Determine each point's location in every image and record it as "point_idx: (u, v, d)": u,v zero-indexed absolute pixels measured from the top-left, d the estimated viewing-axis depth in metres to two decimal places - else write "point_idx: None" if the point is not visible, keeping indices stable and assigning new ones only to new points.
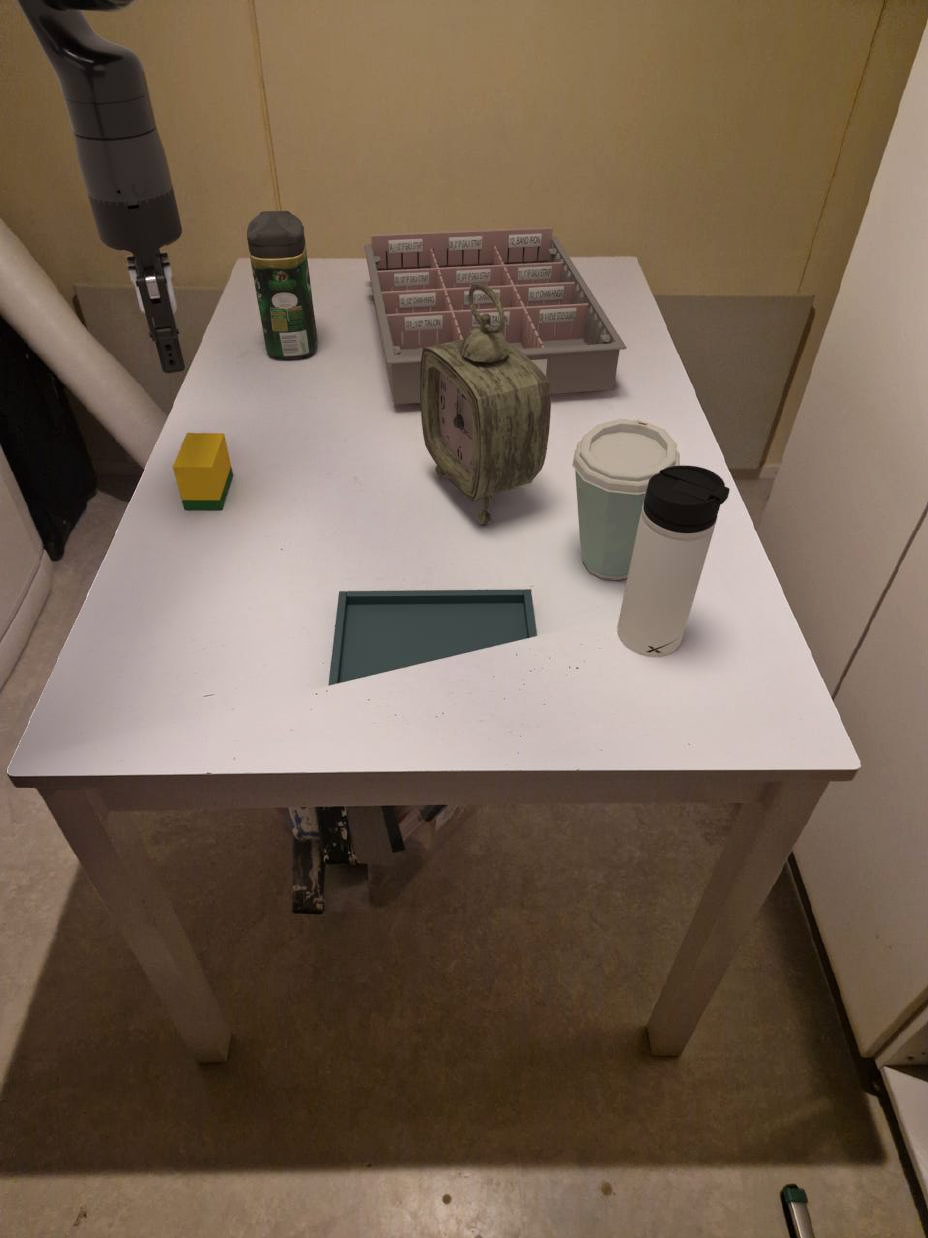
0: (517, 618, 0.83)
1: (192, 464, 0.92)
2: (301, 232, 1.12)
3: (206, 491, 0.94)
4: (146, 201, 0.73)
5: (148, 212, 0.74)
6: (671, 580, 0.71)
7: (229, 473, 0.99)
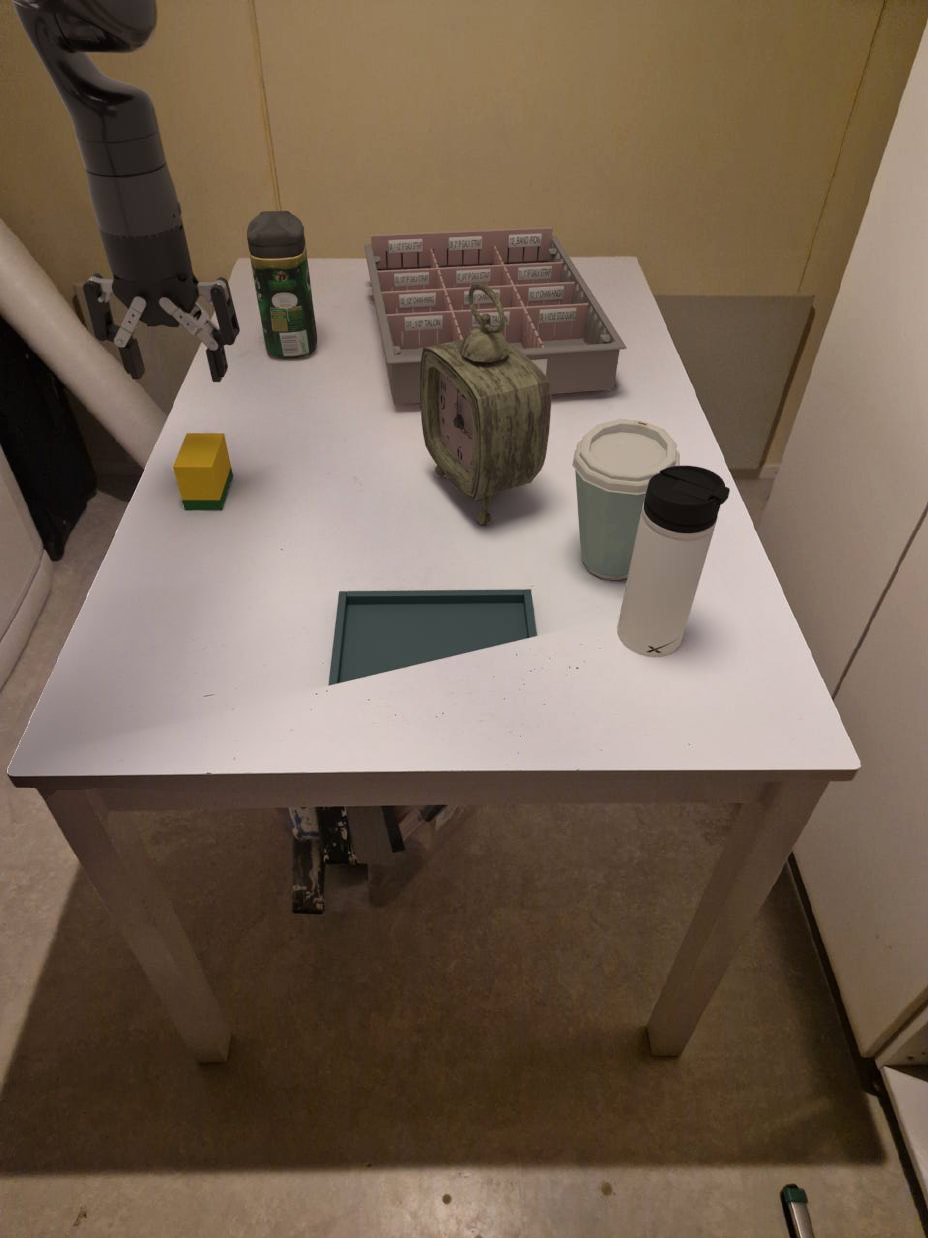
0: (517, 618, 0.83)
1: (192, 464, 0.92)
2: (301, 232, 1.12)
3: (206, 491, 0.94)
4: (181, 219, 0.78)
5: (183, 229, 0.78)
6: (671, 580, 0.71)
7: (229, 473, 0.99)
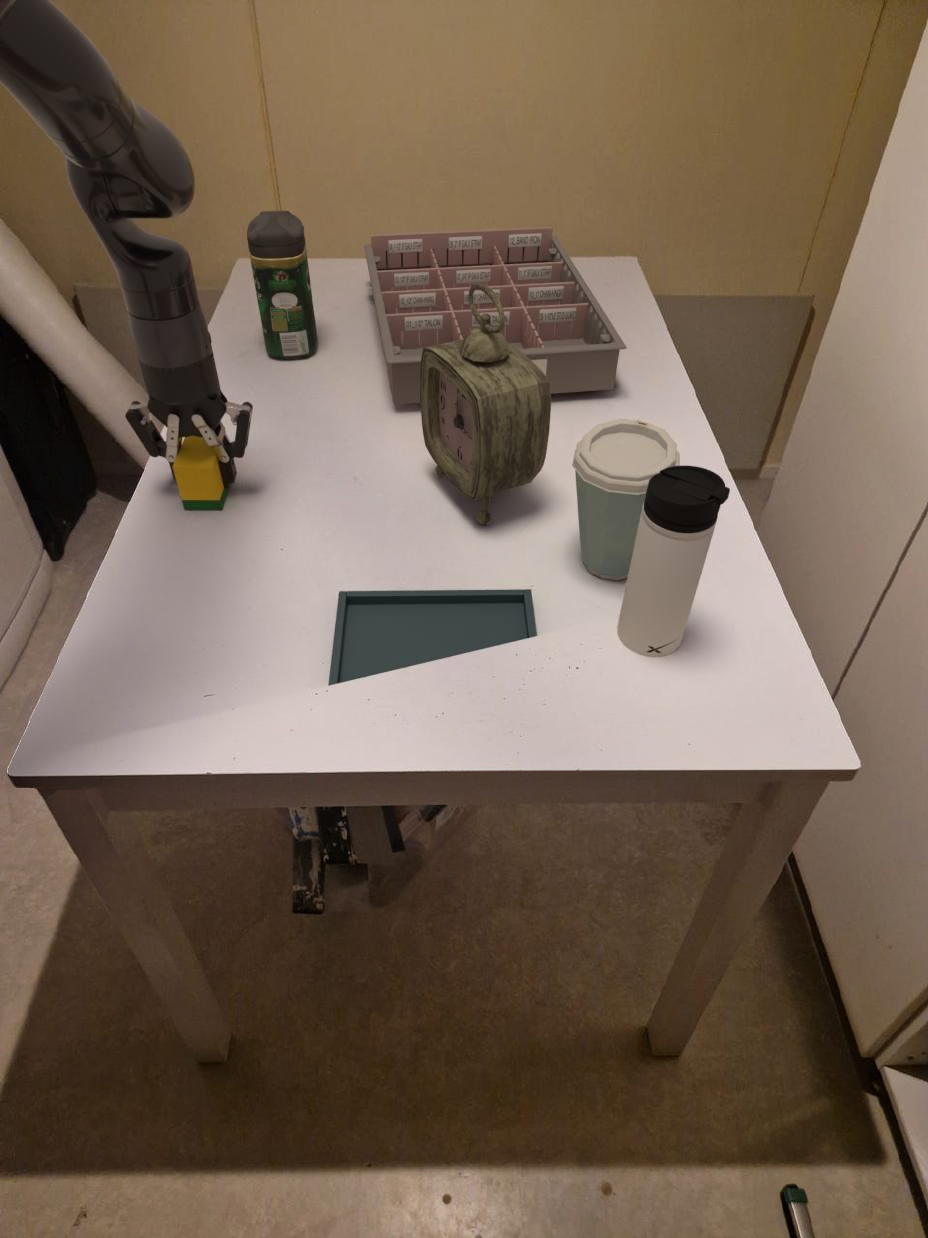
0: (517, 618, 0.83)
1: (192, 464, 0.92)
2: (301, 232, 1.12)
3: (206, 491, 0.94)
4: (211, 346, 0.87)
5: (212, 355, 0.87)
6: (671, 580, 0.71)
7: None
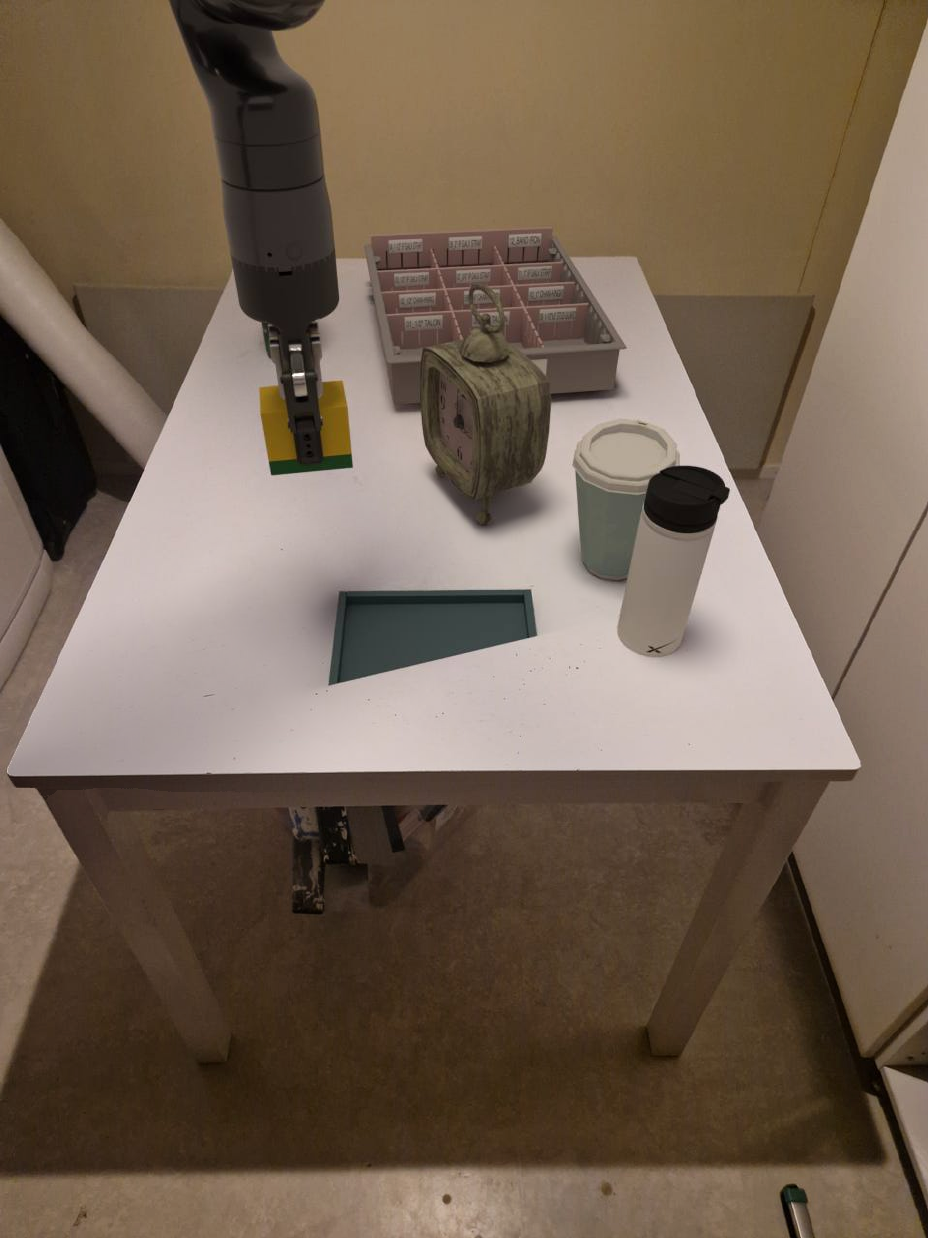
0: (517, 618, 0.83)
1: (265, 398, 0.68)
2: None
3: None
4: (302, 267, 0.58)
5: (302, 280, 0.58)
6: (671, 580, 0.71)
7: (335, 457, 0.70)
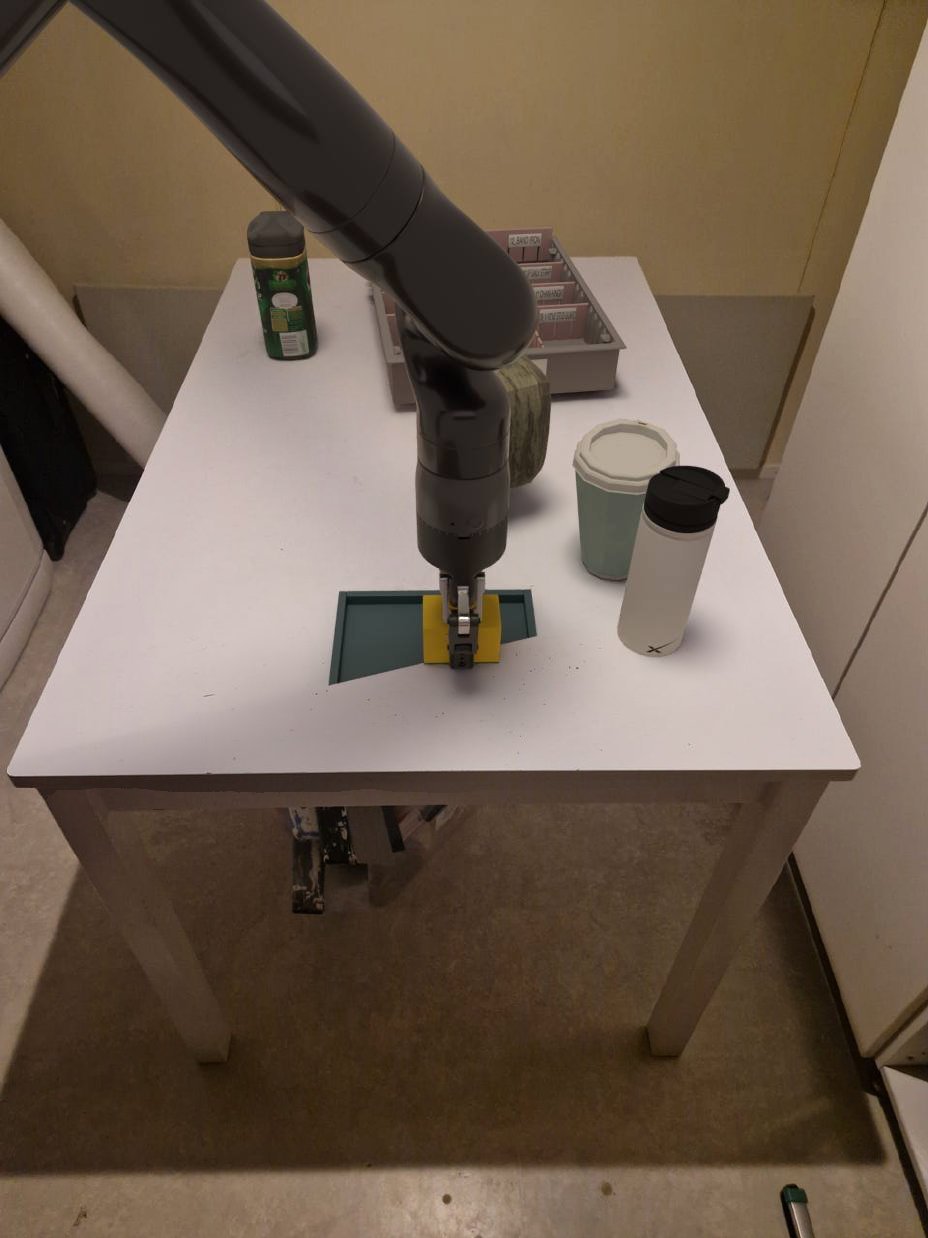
0: (517, 618, 0.83)
1: (427, 610, 0.75)
2: (301, 232, 1.12)
3: None
4: (478, 533, 0.64)
5: (477, 542, 0.65)
6: (671, 580, 0.71)
7: (484, 663, 0.77)
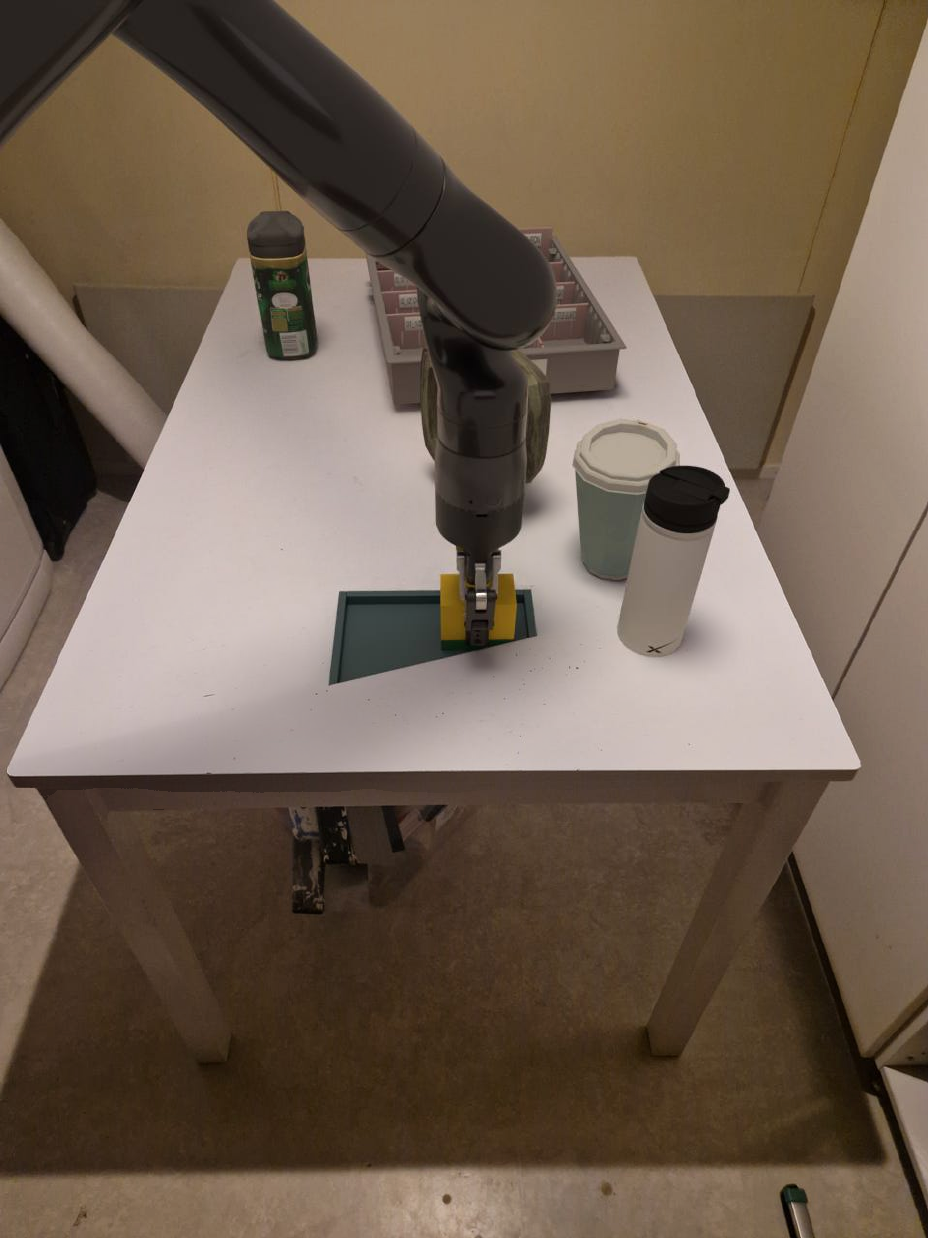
0: (517, 618, 0.83)
1: (445, 588, 0.77)
2: (301, 232, 1.12)
3: None
4: (496, 511, 0.66)
5: (495, 520, 0.67)
6: (671, 580, 0.71)
7: (499, 640, 0.79)
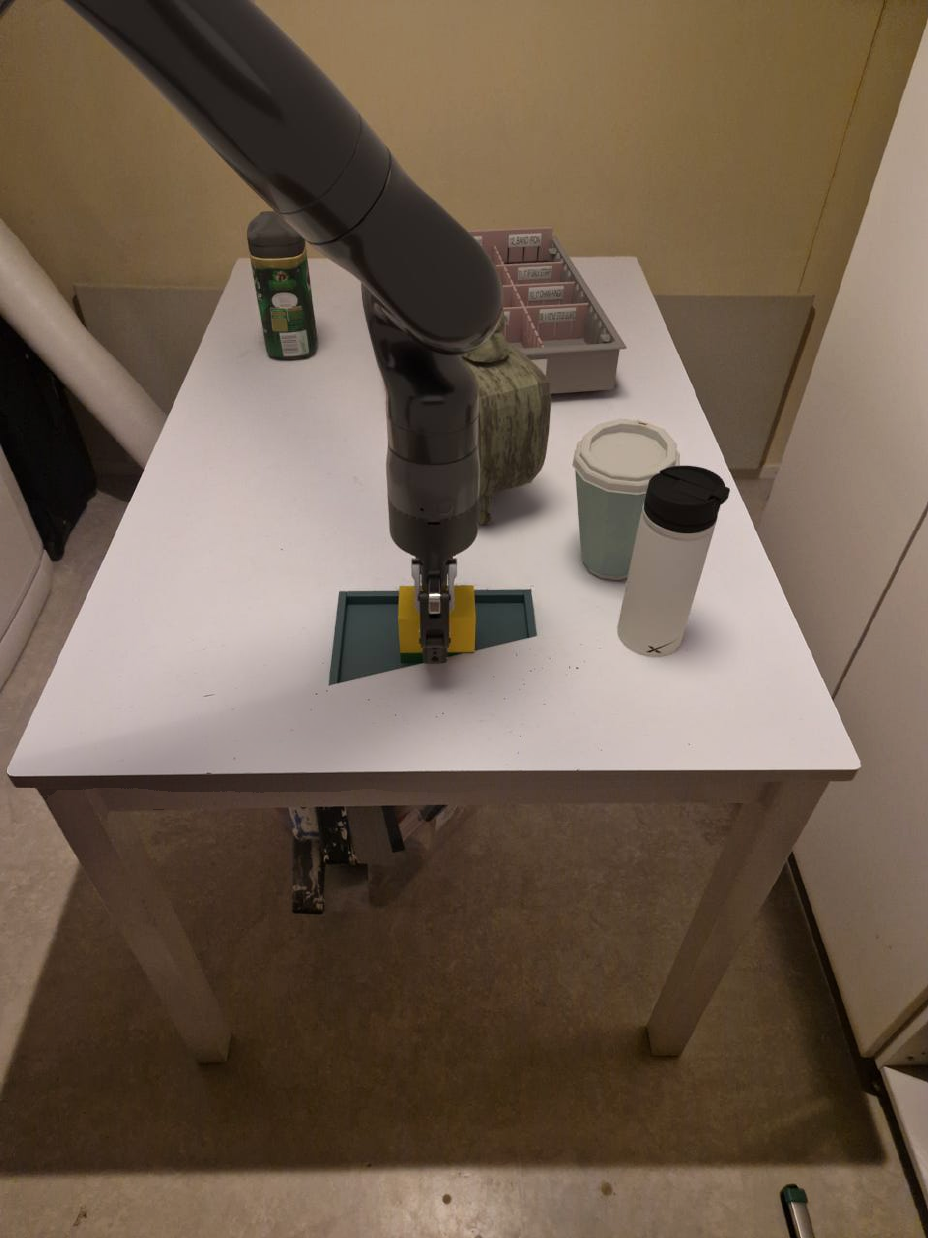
0: (517, 618, 0.83)
1: (403, 601, 0.76)
2: None
3: None
4: (448, 519, 0.65)
5: (447, 528, 0.66)
6: (671, 580, 0.71)
7: (459, 653, 0.78)
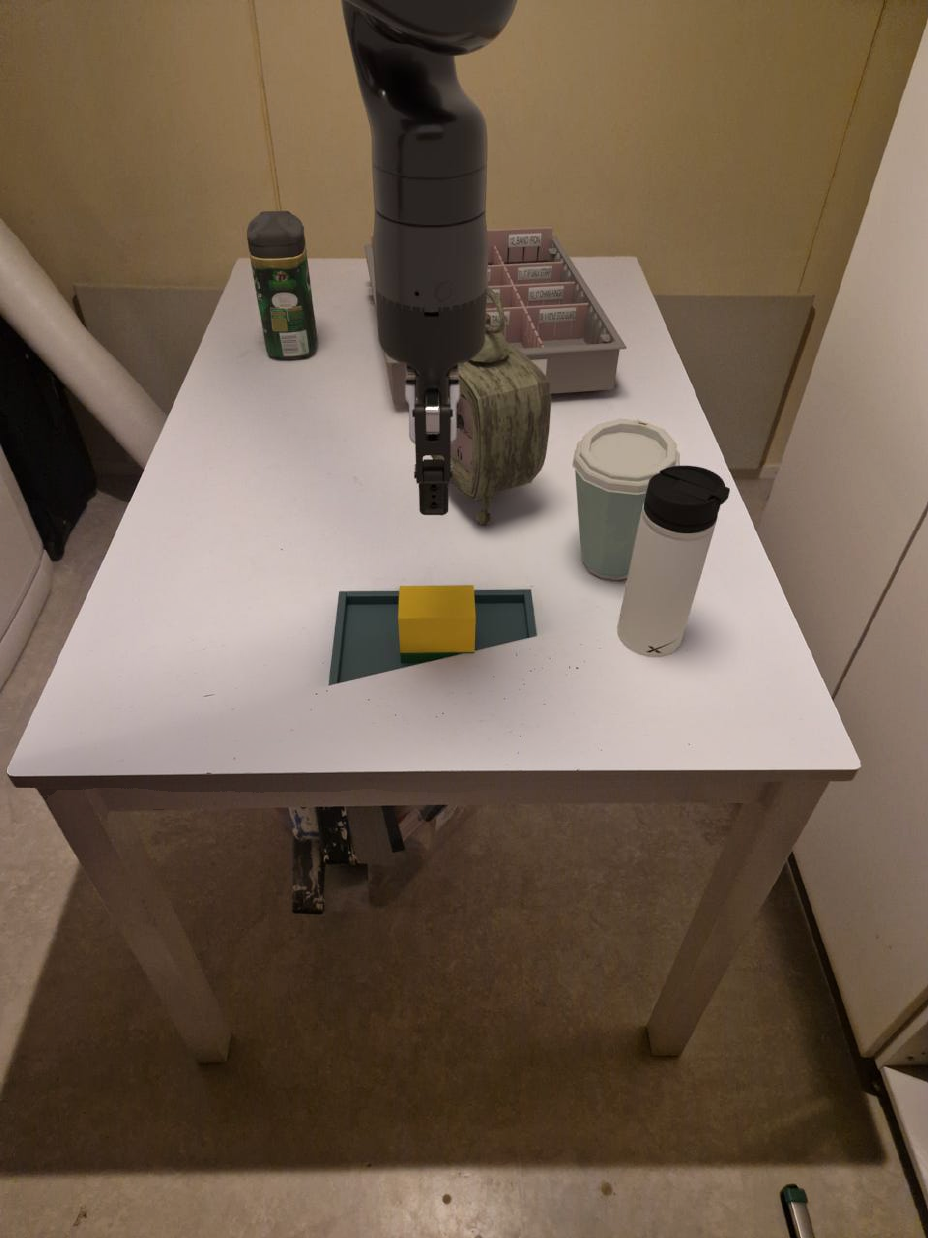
0: (517, 618, 0.83)
1: (403, 601, 0.76)
2: (301, 232, 1.12)
3: None
4: (449, 308, 0.53)
5: (448, 322, 0.54)
6: (671, 580, 0.71)
7: (459, 653, 0.78)
